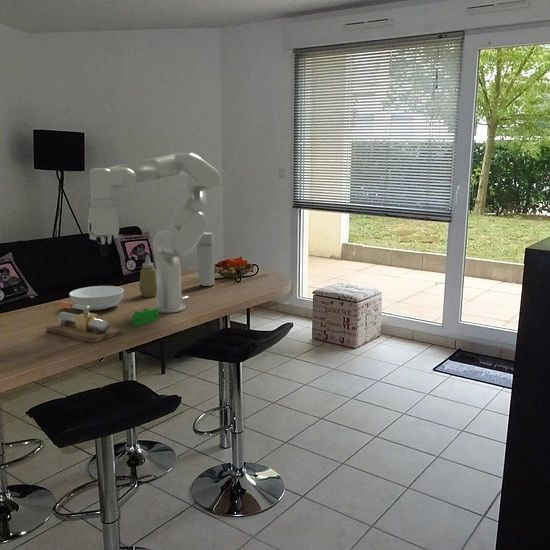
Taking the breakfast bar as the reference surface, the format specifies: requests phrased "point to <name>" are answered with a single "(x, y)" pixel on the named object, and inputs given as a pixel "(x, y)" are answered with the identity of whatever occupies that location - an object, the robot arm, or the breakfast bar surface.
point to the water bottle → (206, 259)
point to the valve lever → (75, 306)
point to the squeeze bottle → (148, 279)
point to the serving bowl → (97, 296)
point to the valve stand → (82, 335)
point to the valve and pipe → (84, 322)
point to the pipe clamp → (145, 316)
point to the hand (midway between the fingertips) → (105, 254)
